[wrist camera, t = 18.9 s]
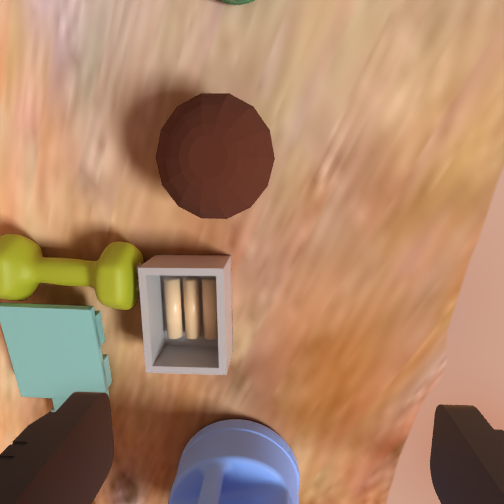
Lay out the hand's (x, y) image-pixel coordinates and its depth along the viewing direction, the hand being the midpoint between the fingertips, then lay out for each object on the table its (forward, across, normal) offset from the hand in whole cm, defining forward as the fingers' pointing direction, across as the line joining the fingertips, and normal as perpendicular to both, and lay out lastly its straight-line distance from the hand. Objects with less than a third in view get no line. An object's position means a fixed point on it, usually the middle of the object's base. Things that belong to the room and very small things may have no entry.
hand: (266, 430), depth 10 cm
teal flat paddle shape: (+35, +26, +18) cm, 46 cm away
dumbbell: (+36, +24, +5) cm, 44 cm away
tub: (+36, +10, +10) cm, 39 cm away
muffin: (+36, +6, -7) cm, 38 cm away
